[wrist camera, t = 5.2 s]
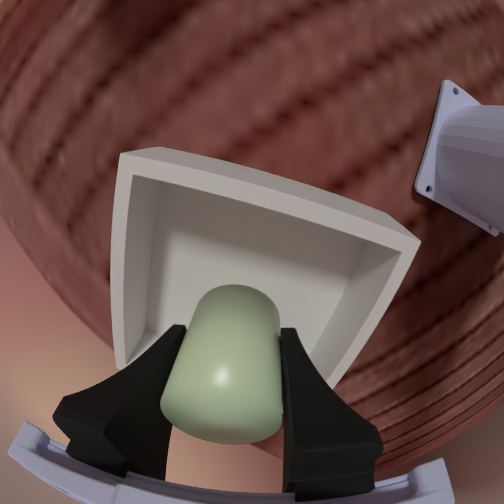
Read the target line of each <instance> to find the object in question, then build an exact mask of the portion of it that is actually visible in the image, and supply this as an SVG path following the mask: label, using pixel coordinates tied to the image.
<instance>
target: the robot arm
mask: <svg viewBox="0 0 504 504" xmlns="http://www.w3.org/2000/svg"><path fill="white" fill-rule="evenodd" d="M453 89H454V90H455V94H454V92H453ZM427 186H429V191H428V192H426V187H427ZM414 188H415V190H416V192H418V193H419V194H421V195H423V196H425V197H427V198H429V199H431V200H433V201H435V202H437V203H439V204H441V205H443V206H444V207H446V208H448V209H450V210H452V211H454V212H455V213H457V214H459V215H461V216H462V217H464V218H466V219H467V220H469V221H471V222H473V223H474V224H476V225H477V226H479V227H481V228H482V229H484V230H485V231H487V232H489V233H490V234H492V235H493V236H497V235H498V234H499V232H502V233H503V234H504V106H494V105H481V104H480V103H479V102H478V101H476V100H475V99H474V98H473V97H471V96H470V95H469V94H468V93H466V92H465V91H464V90H462V89H461V88H460V87H458V86H457V85H456V84H454V83H453V82H452V81H450V80H444V81H443V82H442V84H441V89H440V94H439V99H438V103H437V108H436V112H435V116H434V120H433V124H432V128H431V132H430V135H429V139H428V142H427V146H426V149H425V153H424V156H423V159H422V162H421V165H420V168H419V171H418V174H417V177H416V180H415V184H414ZM186 332H187V330H186V325H179V324H173V325H172V326H171V327H170V328H169V329H168V330H167V331H166V332H165V333H164V334H163V335H162V336H161V337H160V338H159V339H158V340H157V341H156V342H155V343H154V344H152V345H151V346H150V347H149V348H148V349H147V350H146V351H145V352H144V353H143V354H141V355H140V356H139V357H138V358H137V359H136V360H134V361H133V362H132V363H131V364H129V365H128V366H126V367H125V368H124V369H122V370H121V371H119V372H118V373H116V374H115V375H113V376H111V377H110V378H108V379H106V380H104V381H102V382H101V383H98V384H96V385H94V386H92V387H90V388H87V389H85V390H82V391H80V392H77V393H74V394H71V395H68V396H64V397H63V399H62V400H61V402H60V404H59V405H58V407H57V409H56V410H55V412H54V414H53V420H54V422H55V424H56V425H57V426H58V427H59V428H60V429H61V430H62V431H63V433H64V434H66V436H67V437H68V438H69V439H70V442H69V444H68V446H67V447H66V446H64V445H62V444H59V443H58V442H56V441H54V440H52V439H50V438H49V437H48V436H47V435H46V433H45V432H43V431H42V430H41V429H40V428H38V427H36V426H35V425H33V424H31V423H29V422H28V421H25V422H24V424H23V426H22V427H21V429H20V431H19V432H18V434H17V436H16V438H15V439H14V441H13V443H12V445H11V447H10V449H9V451H8V454H9V455H10V456H11V457H12V458H13V459H15V460H16V461H17V462H18V463H20V464H21V465H22V466H23V467H25V468H26V469H27V470H29V471H30V472H31V473H33V474H34V475H36V476H37V477H39V478H40V479H41V480H43V481H45V482H46V483H48V484H50V485H51V486H53V487H54V488H56V489H58V490H60V491H61V492H63V493H65V494H67V495H68V496H70V497H72V498H74V499H76V500H78V501H80V502H81V503H84V504H453V503H454V502H455V499H454V495H453V491H452V487H451V484H450V480H449V476H448V473H447V470H446V466H445V463H444V460H443V458H438V459H436V460H433V461H430V462H428V463H424V464H422V465H419V466H417V467H415V468H414V469H412V470H411V471H410V472H409V474H405V475H402V476H399V477H395V478H391V479H387V480H383V481H378V482H374V477H373V473H374V472H375V467H374V462H375V461H376V460H377V459H378V458H379V456H380V455H381V454H382V452H383V450H384V447H383V442H382V439H381V437H380V434H379V432H378V430H377V428H376V426H374V425H373V424H371V423H370V422H368V421H367V420H365V419H364V418H363V417H361V416H360V415H359V414H358V413H356V412H355V411H354V410H353V409H352V408H350V407H349V406H348V405H347V404H346V403H345V402H344V401H343V400H342V399H341V398H340V397H339V396H338V395H337V394H336V393H335V392H334V391H333V390H332V389H331V387H330V386H329V385H328V384H327V383H326V381H325V380H324V379H323V378H322V376H321V375H320V373H319V372H318V370H317V369H316V368H315V366H314V364H313V363H312V361H311V360H310V358H309V356H308V354H307V353H306V351H305V349H304V347H303V345H302V343H301V341H300V338H299V336H298V333H297V330H296V329H295V328H294V327H293V328H281V332H280V346H281V377H282V405H283V415H284V461H283V489H282V493H246V492H231V491H221V490H213V489H205V488H198V487H192V486H186V485H181V484H176V483H171V482H167V481H165V476H166V464H167V456H168V448H169V441H170V436H171V430H172V425H173V424H172V423H171V422H169V420H168V419H167V418H166V417H165V416H164V414H163V412H162V410H161V407H160V401H161V398H162V395H163V392H164V390H165V387H166V384H167V381H168V379H169V376H170V373H171V371H172V368H173V365H174V363H175V360H176V357H177V355H178V352H179V350H180V347H181V344H182V342H183V339H184V337H185V334H186Z"/></svg>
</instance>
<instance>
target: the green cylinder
mask: <svg viewBox="0 0 504 504" xmlns="http://www.w3.org/2000/svg"><path fill="white" fill-rule="evenodd" d="M160 407H161V410H162V412H163V414H164V416H165V417H166V418H167V419H168V420H169V422H171V423H172V424H173V425H174V426H175V427H177V428H178V429H180V430H182V431H183V432H185V433H187V434H189V435H192V436H194V437H196V438H199V439H202V440H206V441H210V442H215V443H221V444H249V443H255V442H258V441H262V440H264V439H267V438H269V437H271V436H272V435H274V434H275V433H276V432H277V431H278V430H279V428H280V427H281V424H282V377H281V346H280V315H279V312H278V309H277V307H276V305H275V304H274V302H273V301H272V300H271V299H270V298H269V297H268V296H267V295H265V294H264V293H262V292H261V291H259V290H257V289H255V288H252V287H249V286H245V285H238V284H230V285H223V286H219V287H216V288H214V289H212V290H210V291H208V292H207V293H206V294H205V295H204V296H202V298H201V299H200V300H199V302H198V304H197V306H196V309H195V311H194V314H193V316H192V319H191V321H190V324H189V327H188V329H187V332H186V334H185V337H184V339H183V342H182V344H181V347H180V350H179V352H178V355H177V357H176V360H175V363H174V365H173V368H172V371H171V373H170V376H169V379H168V381H167V384H166V387H165V390H164V392H163V395H162V398H161V401H160Z"/></svg>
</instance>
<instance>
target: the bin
mask: <svg viewBox="0 0 504 504" xmlns="http://www.w3.org/2000/svg"><path fill="white" fill-rule="evenodd" d="M420 243H421V241H420V240H419V239H418V238H416V237H415V236H414V235H413V234H412V233H410V232H409V231H408V230H407V229H406V228H404V227H403V226H402V225H401V224H399V223H398V222H397V221H396V220H394V219H393V218H392V217H391V216H389V215H388V214H387V213H385V212H382V211H380V210H377V209H374V208H372V207H369V206H367V205H364V204H361V203H359V202H356V201H353V200H350V199H348V198H345V197H342V196H339V195H336V194H334V193H331V192H328V191H325V190H322V189H319V188H316V187H313V186H310V185H307V184H304V183H300V182H297V181H294V180H291V179H288V178H284V177H281V176H278V175H274V174H271V173H267V172H264V171H260V170H257V169H253V168H250V167H246V166H242V165H238V164H234V163H231V162H227V161H223V160H219V159H214V158H210V157H206V156H202V155H197V154H193V153H188V152H184V151H179V150H174V149H169V148H164V147H154V148H147V149H141V150H136V151H130V152H125V153H120V159H119V166H118V173H117V180H116V189H115V198H114V208H113V221H112V237H111V313H112V329H113V342H114V352H115V361H116V368H117V369H119V370H122V369H124V368H125V367H126V366H128V365H129V364H131V363H132V362H133V361H134V360H136V359H137V358H138V357H139V356H140V355H141V354H143V353H144V352H145V351H146V350H147V349H148V348H149V347H150V346H151V345H152V344H154V343H155V342H156V341H157V340H158V339H159V338H160V337H161V336H162V335H163V334H164V333H165V332H166V331H167V330H168V329H169V328H170V327H171V326H172V325H173V324H179V325H186V330H187V329H188V327H189V324H190V321H191V319H192V316H193V314H194V311H195V309H196V306H197V304H198V302H199V300H200V299H201V298H202V296H204V295H205V294H206V293H207V292H208V291H210V290H212V289H214V288H216V287H219V286H223V285H230V284H238V285H245V286H249V287H252V288H255V289H257V290H259V291H261V292H262V293H264V294H265V295H267V296H268V297H269V298H270V299H271V300H272V301H273V302H274V304H275V305H276V307H277V309H278V312H279V315H280V332H281V328H293V327H294V328H295V329H296V330H297V333H298V336H299V338H300V341H301V343H302V345H303V347H304V349H305V351H306V353H307V354H308V356H309V358H310V360H311V361H312V363H313V364H314V366H315V368H316V369H317V370H318V372H319V373H320V375H321V376H322V378H323V379H324V380H325V381H326V383H327V384H328V385H329V386H330V387H331V389H333V388H334V387H335V386H336V384H337V383H338V382H339V380H340V379H341V378H342V376H343V375H344V373H345V372H346V371H347V369H348V368H349V367H350V365H351V364H352V362H353V361H354V359H355V358H356V357H357V355H358V354H359V352H360V351H361V349H362V348H363V346H364V345H365V343H366V342H367V340H368V339H369V337H370V335H371V334H372V332H373V331H374V329H375V328H376V326H377V324H378V323H379V321H380V319H381V318H382V316H383V314H384V313H385V311H386V309H387V308H388V306H389V304H390V302H391V301H392V299H393V297H394V295H395V293H396V292H397V290H398V288H399V286H400V284H401V282H402V280H403V278H404V276H405V274H406V273H407V271H408V269H409V267H410V265H411V262H412V260H413V258H414V256H415V254H416V252H417V250H418V248H419V246H420ZM282 414H283V405H282Z"/></svg>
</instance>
